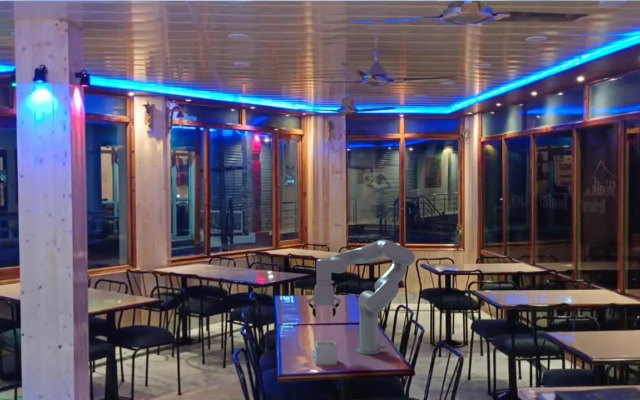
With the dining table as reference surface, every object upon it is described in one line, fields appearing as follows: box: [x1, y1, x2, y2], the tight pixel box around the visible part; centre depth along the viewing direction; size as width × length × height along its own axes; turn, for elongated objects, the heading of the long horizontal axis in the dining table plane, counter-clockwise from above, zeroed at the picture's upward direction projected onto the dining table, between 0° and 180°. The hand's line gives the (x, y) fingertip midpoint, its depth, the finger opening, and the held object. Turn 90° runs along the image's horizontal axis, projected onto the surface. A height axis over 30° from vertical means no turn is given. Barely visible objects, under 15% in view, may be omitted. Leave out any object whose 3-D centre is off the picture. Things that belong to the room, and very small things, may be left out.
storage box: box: [314, 340, 338, 367], centre depth 298 cm, size 10×10×9 cm
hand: (324, 316), depth 312 cm, fingers open, 9 cm apart
